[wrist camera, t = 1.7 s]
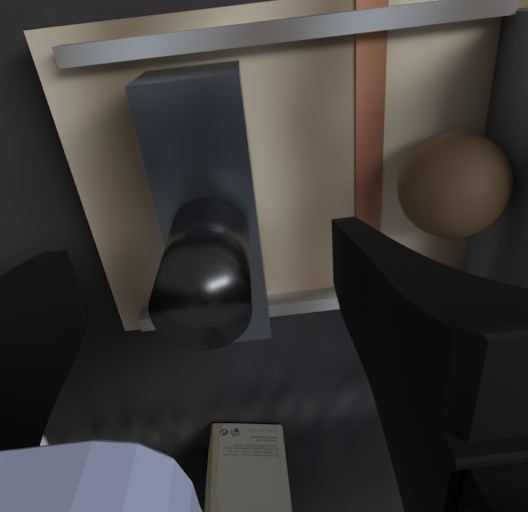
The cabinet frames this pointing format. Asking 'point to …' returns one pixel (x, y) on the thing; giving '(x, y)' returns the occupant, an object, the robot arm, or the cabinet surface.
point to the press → (315, 132)
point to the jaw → (202, 205)
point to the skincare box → (247, 469)
